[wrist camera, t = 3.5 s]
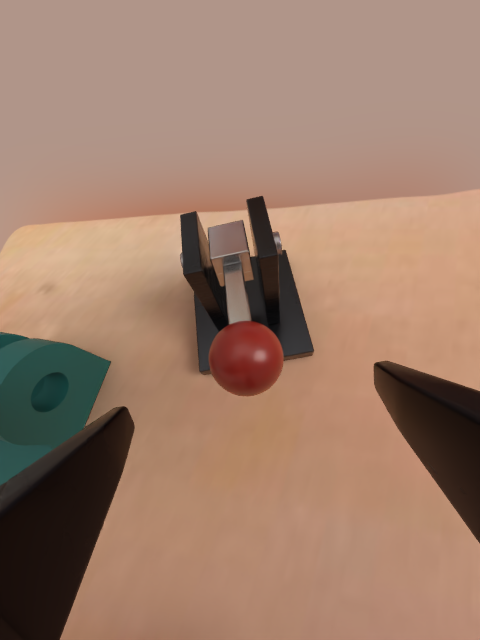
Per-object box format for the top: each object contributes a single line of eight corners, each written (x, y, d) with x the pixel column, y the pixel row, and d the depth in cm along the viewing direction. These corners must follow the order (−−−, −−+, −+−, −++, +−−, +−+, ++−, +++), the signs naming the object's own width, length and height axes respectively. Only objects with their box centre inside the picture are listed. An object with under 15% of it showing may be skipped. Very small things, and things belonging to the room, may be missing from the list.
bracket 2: (312, 355, 20) (335, 293, 11) (203, 375, 21) (144, 331, 12) (285, 257, 24) (286, 156, 16) (195, 276, 25) (148, 190, 16)
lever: (291, 398, 12) (291, 372, 9) (221, 410, 12) (200, 388, 9) (258, 253, 18) (251, 209, 15) (210, 263, 18) (195, 222, 15)
